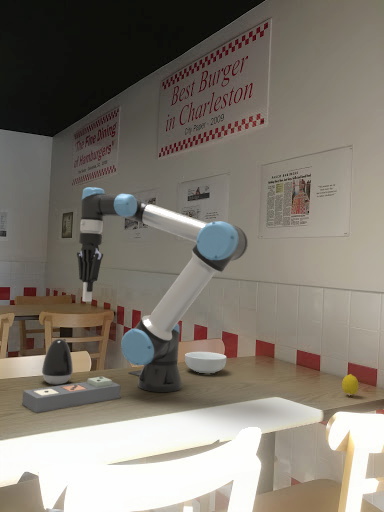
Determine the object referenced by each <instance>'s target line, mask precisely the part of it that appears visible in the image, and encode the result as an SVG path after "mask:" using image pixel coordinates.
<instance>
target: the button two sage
mask: <svg viewBox="0 0 384 512" xmlns="http://www.w3.org/2000/svg"><path fill="white" fill-rule="evenodd" d="M86 382H87V384H89V385H91V386H94V387H96V388H97V387H104V386H110V385H112V382H113V380H112V379H109V378H107V377H105V376H97V377H89V378H87V381H86Z"/></svg>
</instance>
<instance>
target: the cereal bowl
mask: <svg viewBox="0 0 384 512" xmlns="http://www.w3.org/2000/svg"><path fill="white" fill-rule="evenodd" d="M184 361H185V364H186V366H187V367H188V368H189V369H191V370H192V371H194V372H195V371H196V372H199V373H214V374H215V373H216V372H219V371H221V370H223V369H224V368H225V366H226V364H227V356H226V355H225V354H222V353H218V352H210V351H192V352H187V353H185V354H184ZM196 372H195V373H196ZM199 373H198V374H199Z"/></svg>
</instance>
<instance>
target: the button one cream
mask: <svg viewBox="0 0 384 512" xmlns="http://www.w3.org/2000/svg"><path fill="white" fill-rule="evenodd" d="M33 392H35V393H37V394H38V395H40V396H45V395H52V394H58V393H59V392H57V391H55V390H53V389H44V390H37V391H33Z"/></svg>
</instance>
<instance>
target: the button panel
mask: <svg viewBox="0 0 384 512" xmlns="http://www.w3.org/2000/svg"><path fill="white" fill-rule="evenodd" d="M87 382H88V381H83V382H77V383H68V384H60V385H55V386H53V385H52V386H48V387H40V388H34V389H24V390H23V392H22V404H21V405H22V406H24V407H26V408H27V409H29V410H31V411H32V412H34V413H36V414H37V413H44V412H49V411H53V410H54V411H55V410H59V409H60V410H61V409H64V408H71V407H76V406H83V405H88V404H93V403H100V402H105V401H112V400H115V399H121V388H122V385H121V384H118V383H116V382H114V381H112V385H110V386H104V387H97V388H96V387H94V386H91V385H89V384H87ZM72 385H79V386H82V387H84V388H86V389H84V390H78V391H71V392H70V391H68V390H65V389H63V388H61V387H65V386H72ZM44 389H53V390H55V391H57V392H59V393H58V394H52V395H45V396H40V395H38V394H37V393H35V392H33V391H37V390H44Z"/></svg>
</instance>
